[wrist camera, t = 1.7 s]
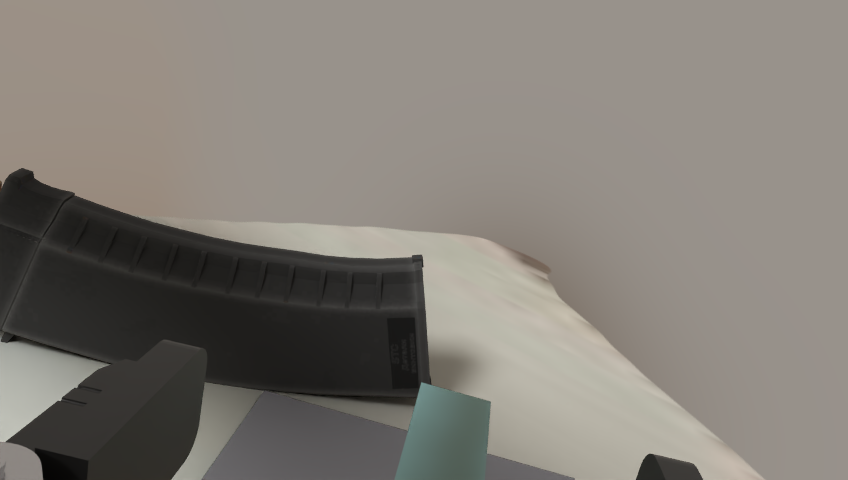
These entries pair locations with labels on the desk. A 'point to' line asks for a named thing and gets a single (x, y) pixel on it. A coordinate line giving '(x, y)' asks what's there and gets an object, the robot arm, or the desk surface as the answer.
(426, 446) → the tile
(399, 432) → the mat
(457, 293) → the desk surface
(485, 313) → the desk surface
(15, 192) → the magazine
